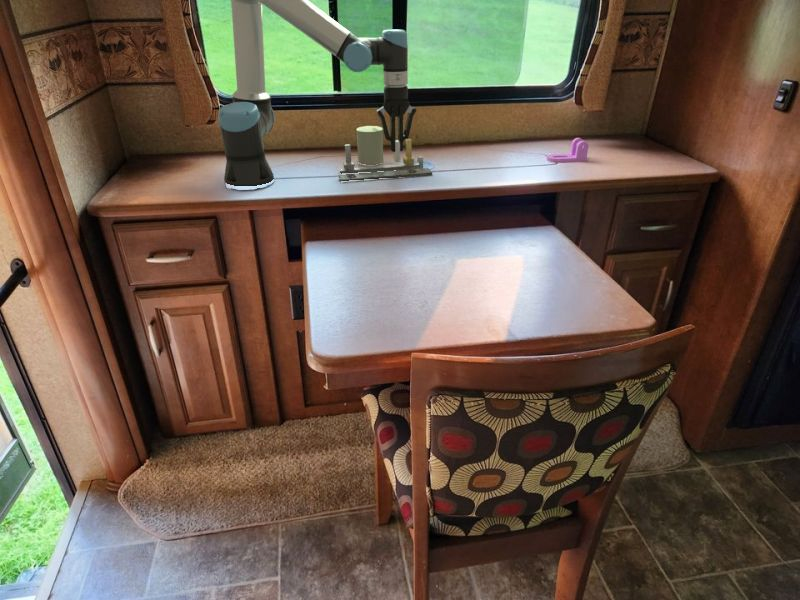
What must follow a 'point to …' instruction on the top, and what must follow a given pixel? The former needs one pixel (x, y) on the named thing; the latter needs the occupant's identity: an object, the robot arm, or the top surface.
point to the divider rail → (350, 166)
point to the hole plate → (387, 174)
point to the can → (370, 145)
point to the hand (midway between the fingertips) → (397, 160)
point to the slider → (408, 153)
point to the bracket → (572, 153)
